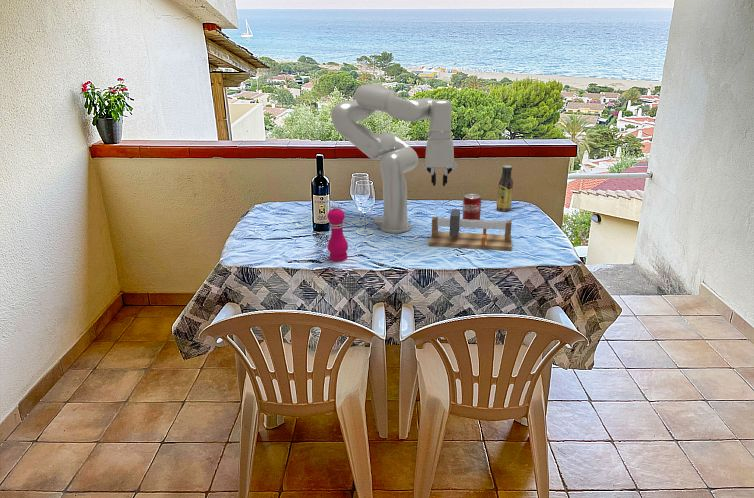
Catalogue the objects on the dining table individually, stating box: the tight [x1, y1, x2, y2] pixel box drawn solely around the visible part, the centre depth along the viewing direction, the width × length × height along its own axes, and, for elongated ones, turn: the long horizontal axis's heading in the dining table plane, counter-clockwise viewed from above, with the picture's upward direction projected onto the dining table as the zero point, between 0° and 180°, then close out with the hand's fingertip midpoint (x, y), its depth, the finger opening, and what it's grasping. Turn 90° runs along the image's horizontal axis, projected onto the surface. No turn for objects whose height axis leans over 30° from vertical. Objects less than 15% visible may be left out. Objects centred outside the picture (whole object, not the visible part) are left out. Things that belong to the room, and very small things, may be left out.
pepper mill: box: [327, 204, 349, 262], centre depth 181 cm, size 7×7×20 cm
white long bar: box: [437, 217, 506, 230], centre depth 193 cm, size 25×2×2 cm, turn 77°
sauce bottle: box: [496, 164, 514, 212], centre depth 227 cm, size 7×6×20 cm
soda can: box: [461, 193, 482, 220], centre depth 213 cm, size 7×7×12 cm
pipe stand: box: [428, 216, 513, 252], centre depth 194 cm, size 30×12×9 cm, turn 77°
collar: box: [449, 208, 461, 237], centre depth 194 cm, size 3×8×8 cm, turn 167°
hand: (439, 184), depth 193 cm, fingers open, 3 cm apart
